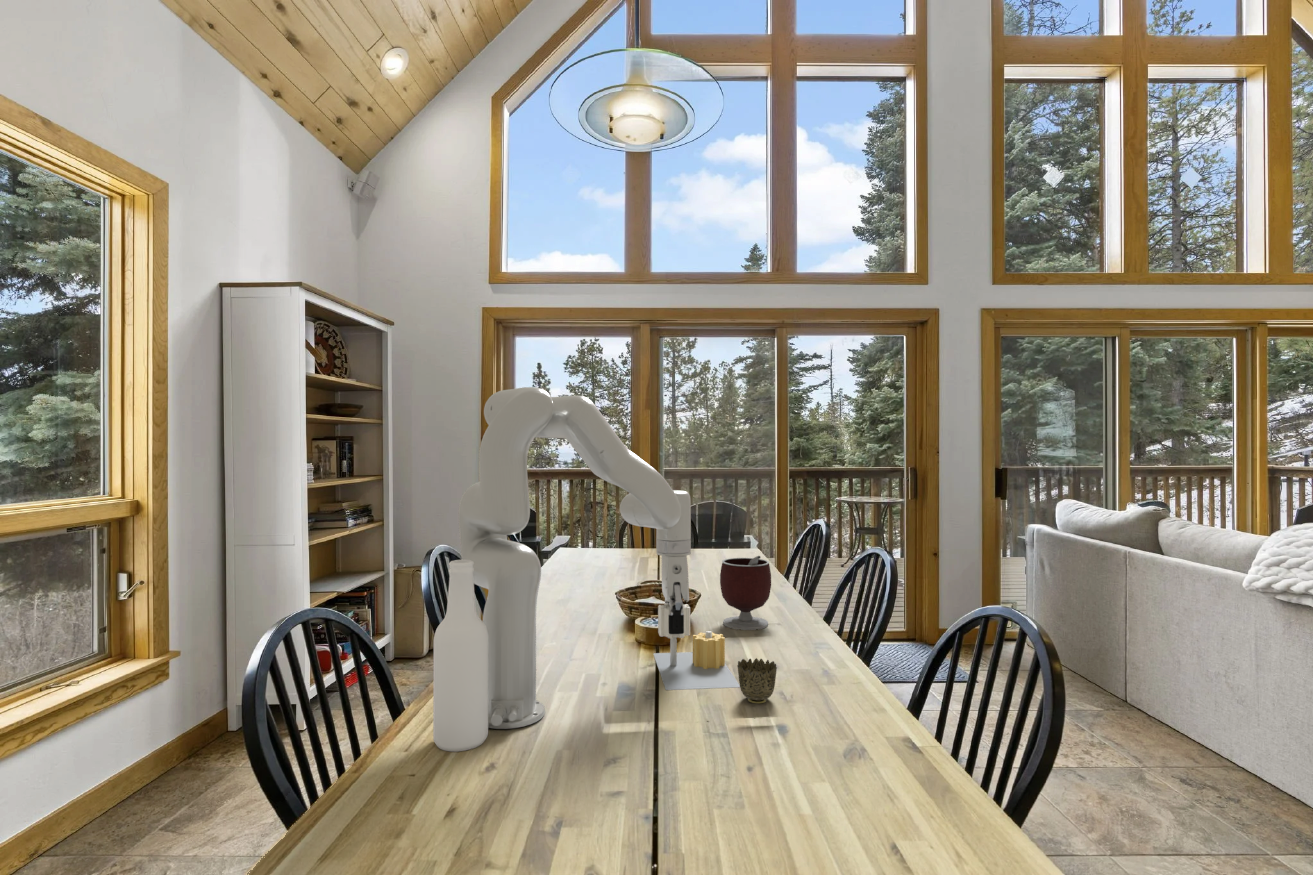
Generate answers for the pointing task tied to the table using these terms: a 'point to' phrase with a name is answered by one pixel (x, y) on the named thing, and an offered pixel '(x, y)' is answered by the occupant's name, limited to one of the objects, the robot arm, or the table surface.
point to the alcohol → (460, 667)
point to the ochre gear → (708, 651)
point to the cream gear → (664, 621)
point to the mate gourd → (745, 590)
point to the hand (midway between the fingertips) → (673, 628)
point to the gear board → (691, 671)
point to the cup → (757, 679)
